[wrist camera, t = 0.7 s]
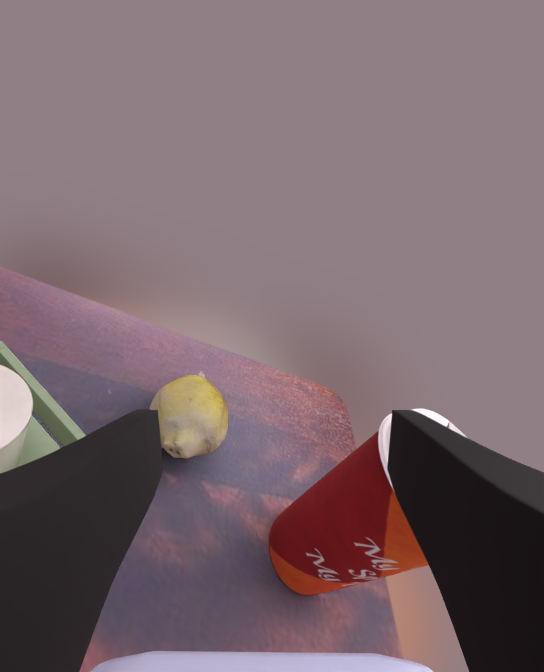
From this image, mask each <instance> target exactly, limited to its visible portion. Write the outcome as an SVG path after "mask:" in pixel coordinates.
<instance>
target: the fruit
mask: <svg viewBox="0 0 544 672" xmlns="http://www.w3.org/2000/svg"><path fill="white" fill-rule="evenodd" d="M149 410H158V416H159V427H160V437H161V448H163V449H165V450H166V451H167V452H168V453H169V454H171V456H172V457H174V458H186V459H187V458H190V457H192V456H197V455H205V454H210V453H212V452H213V451H215V450H216V449H217V448H218V447H219V446H220V444H221V443H222V442H223V440H224V438H225V436H226V433H227V428H228V411H227V405H226V402H225V399H224V398H223V396H222V395H221V393H220V392H219V391H218V390H217V389H216V388H215V387H214V386H213V385H212V384H211V383H210V382H209V381H207V380H206V378H205V376H204V373H203V372H202V371H199V373H198V374H197V376H195V375H188V376H183V377H181V378H179V379H176V380H174V381H172V382H170V383H168V384H167V385H165V386H164V387H162V388H161V389H160V390H159V391H158V393H157V394H156V395H155V397H154V399H153V400H152V403H151V406H150V408H149Z"/></svg>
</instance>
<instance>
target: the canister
mask: <svg viewBox="0 0 544 672" xmlns="http://www.w3.org/2000/svg"><path fill="white" fill-rule="evenodd" d="M32 410H33V398H32V394H31V391H30V389H29V387H28V385H27V384H26V383H25V381H24V380H23V379H22V378H21V377H20V376H19V375H18V374H16V373H15V372H14V371H12V370H10V369H9V368H7V367H5V366H2V365H0V474H1V473H3V472H6V471H9V470H11V469H14V468H16V467H18V466H19V463H20V459H21V455H22V451H23V447H24V443H25V439H26V435H27V431H28V427H29V423H30V419H31V415H32Z"/></svg>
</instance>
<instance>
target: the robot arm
mask: <svg viewBox="0 0 544 672" xmlns="http://www.w3.org/2000/svg"><path fill="white" fill-rule="evenodd" d="M387 470H388V473H389V476H390V480H391V483H392V486H393V489H394V492H395V495H396V498H397V500H398V502H399V504H400V507H401V509H402V511H403V513H404V515H405V517H406V519H407V521H408V523H409V525H410V527H411V529H412V532H413V534H414V536H415V538H416V540H417V542H418V544H419V546H420V548H421V550H422V552H423V554H424V556H425V558H426V560H427V562H428V564H429V566H430V568H431V570H432V573H433V575H434V577H435V580H436V582H437V584H438V586H439V589H440V592H441V594H442V596H443V600H444V602H445V605H446V608H447V610H448V613H449V616H450V618H451V621H452V624H453V626H454V629H455V632H456V635H457V638H458V640H459V644H460V646H461V649H462V652H463V655H464V658H465V661H466V664H467V666H468V669H469V672H544V472H541V471H538V470H536V469H533V468H531V467H528V466H526V465H523V464H521V463H518V462H516V461H514V460H512V459H509V458H507V457H505V456H503V455H501V454H498V453H496V452H494V451H492V450H490V449H488V448H486V447H484V446H482V445H479V444H478V443H476V442H474V441H472V440H470V439H468V438H466V437H464V436H462V435H461V434H459V433H457V432H455V431H453V430H451V429H449V428H448V427H446V426H444V425H442V424H440V423H438V422H436V421H435V420H433V419H431V418H429V417H427V416H425V415H423V414H421V413H419V412H416V411H413V410H393V411H392V420H391V431H390V442H389V454H388V465H387ZM162 471H163V459H162V448H161V437H160V427H159V416H158V410H136V411H134V412H131V413H129V414H127V415H125V416H123V417H121V418H119V419H117V420H115V421H113V422H111V423H109V424H108V425H106V426H104V427H102V428H100V429H98V430H96V431H94V432H92V433H91V434H89V435H87V436H85V437H83V438H81V439H79V440H77V441H75V442H73V443H71V444H68V445H66V446H64V447H62V448H60V449H58V450H56V451H54V452H52V453H50V454H48V455H45V456H43V457H41V458H39V459H36V460H34V461H32V462H29V463H27V464H24V465H21V466H19V467H16V468H14V469H11V470H9V471H6V472H3V473H1V474H0V672H79V671H80V668H81V665H82V662H83V659H84V657H85V654H86V651H87V648H88V646H89V643H90V640H91V637H92V634H93V632H94V629H95V626H96V623H97V621H98V618H99V616H100V613H101V610H102V608H103V605H104V602H105V600H106V597H107V595H108V592H109V589H110V587H111V584H112V582H113V580H114V578H115V575H116V573H117V571H118V569H119V567H120V565H121V563H122V561H123V559H124V557H125V555H126V553H127V550H128V548H129V546H130V544H131V542H132V540H133V538H134V536H135V534H136V532H137V530H138V528H139V526H140V524H141V522H142V520H143V518H144V516H145V514H146V512H147V510H148V508H149V506H150V504H151V502H152V500H153V498H154V495H155V492H156V489H157V486H158V483H159V480H160V477H161V474H162ZM90 672H433V671H432V670H431V669H430V668H428V667H426V666H424V665H422V664H420V663H417V662H412V661H407V660H403V659H399V658H394V657H389V656H384V655H380V654H375V653H295V652H201V651H150V652H145V653H140V654H135V655H130V656H125V657H119V658H114V659H109V660H107V661H105V662H103V663H101V664H98V665H97V666H96V667H95V668H94V669H92V670H91V671H90Z"/></svg>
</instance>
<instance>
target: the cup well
mask: <svg viewBox="0 0 544 672" xmlns="http://www.w3.org/2000/svg"><path fill="white" fill-rule="evenodd" d="M0 365H2V366H5V367H7V368H9V369H10V370H12V371H14V372H15V373H16V374H18V375H19V376H20V377H21V378H22V379H23V380H24V381H25V383H26V384H27V385H28V387H29V389H30V391H31V394H32V398H33V410H32V411H33V412H34V413H35V414H36V415H37V416H38V417H39V419H40V420H41V421H42V422H43V423H44V424H45V425H46V427H47V428H48V429H49V430H50V431H51V432H52V433H53V435H54V436H55V437H56V438H57V439H58V440H59V441H60V442H61V444H62V445H63V446H66V445H68V444H71V443H73V442H75V441H77V440H79V439H81V438H83V437H85V436H86V435H85V434H84V433H83V432H82V430H81V429H80V428H79V427H78V426H77V425H76V424H75V423H74V421H73V420H72V419H71V418H70V417H69V416H68V415H67V414H66V413H65V411H64V410H63V409H62V408H61V407H60V406H59V405H58V404H57V402H56V401H55V400H54V399H53V398H52V397H51V396H50V395H49V394H48V392H47V391H46V390H45V389H44V388H43V387H42V386H41V385H40V383H39V382H38V381H37V380H36V379H35V378H34V377H33V376H32V375H31V373H30V372H29V371H28V370H27V369H26V368H25V367H24V366H23V364H22V363H21V362H20V361H19V360H18V359H17V358H16V357H15V356H14V354H13V353H12V352H11V351H10V350H9V349H8V348H7V347H6V346H5V344H4V343H3V342H2V341H0Z"/></svg>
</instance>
